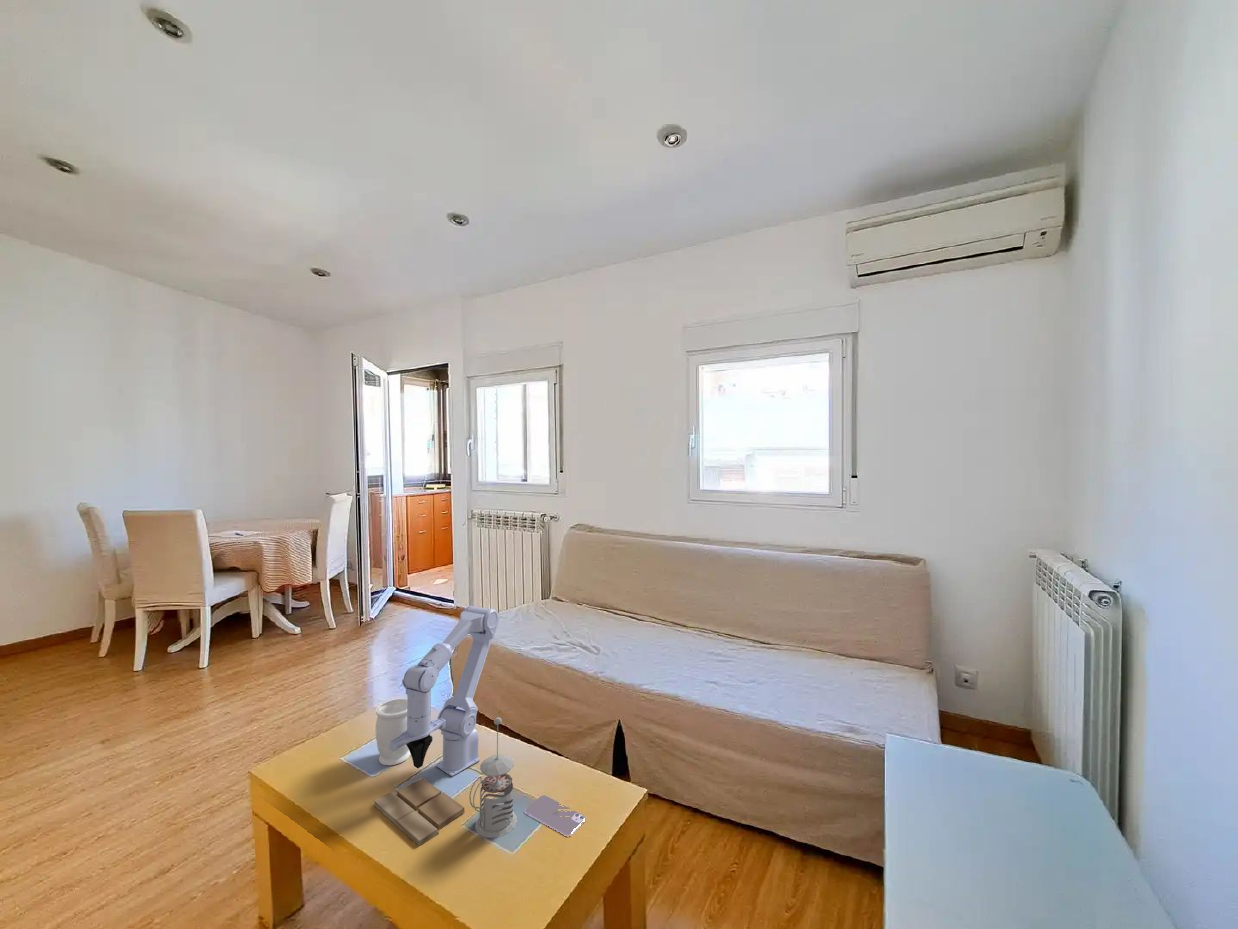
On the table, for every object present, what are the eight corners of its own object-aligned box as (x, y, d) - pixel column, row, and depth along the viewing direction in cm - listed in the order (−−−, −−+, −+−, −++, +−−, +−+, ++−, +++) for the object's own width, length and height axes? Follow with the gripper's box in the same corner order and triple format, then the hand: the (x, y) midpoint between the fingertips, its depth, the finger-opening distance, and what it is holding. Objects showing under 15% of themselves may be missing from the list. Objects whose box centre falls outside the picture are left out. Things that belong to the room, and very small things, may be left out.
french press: (525, 822, 115) (526, 718, 115) (481, 849, 107) (483, 736, 107) (503, 802, 122) (504, 703, 122) (460, 826, 114) (462, 720, 114)
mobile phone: (543, 792, 125) (589, 816, 117) (543, 796, 125) (589, 820, 117) (522, 809, 119) (569, 836, 110) (522, 813, 119) (568, 840, 110)
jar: (421, 754, 142) (422, 704, 142) (388, 773, 133) (389, 719, 133) (400, 743, 147) (401, 694, 148) (367, 760, 139) (368, 708, 139)
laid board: (392, 795, 124) (392, 790, 124) (438, 833, 111) (438, 828, 111) (374, 805, 120) (374, 800, 120) (419, 846, 107) (419, 840, 107)
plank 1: (422, 782, 129) (422, 777, 129) (441, 796, 124) (441, 791, 124) (397, 795, 124) (397, 791, 124) (415, 811, 118) (416, 806, 118)
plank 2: (443, 797, 123) (443, 792, 123) (464, 812, 118) (464, 807, 118) (418, 813, 118) (418, 808, 118) (438, 830, 112) (438, 824, 112)
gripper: (435, 698, 133) (434, 747, 133) (383, 719, 121) (382, 773, 121) (450, 706, 128) (449, 757, 128) (398, 729, 117) (397, 785, 117)
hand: (418, 766), depth 124 cm, fingers closed
